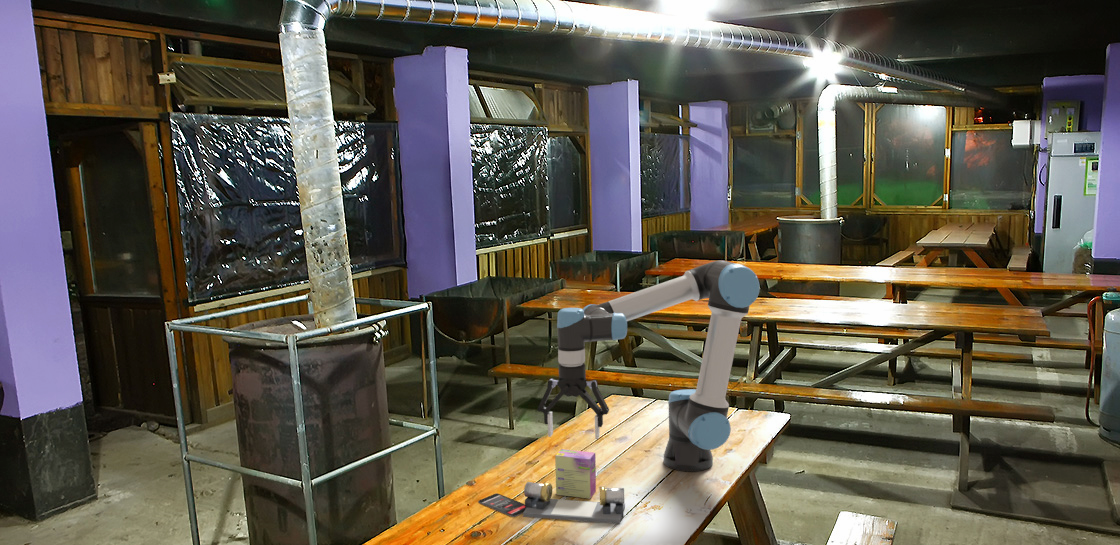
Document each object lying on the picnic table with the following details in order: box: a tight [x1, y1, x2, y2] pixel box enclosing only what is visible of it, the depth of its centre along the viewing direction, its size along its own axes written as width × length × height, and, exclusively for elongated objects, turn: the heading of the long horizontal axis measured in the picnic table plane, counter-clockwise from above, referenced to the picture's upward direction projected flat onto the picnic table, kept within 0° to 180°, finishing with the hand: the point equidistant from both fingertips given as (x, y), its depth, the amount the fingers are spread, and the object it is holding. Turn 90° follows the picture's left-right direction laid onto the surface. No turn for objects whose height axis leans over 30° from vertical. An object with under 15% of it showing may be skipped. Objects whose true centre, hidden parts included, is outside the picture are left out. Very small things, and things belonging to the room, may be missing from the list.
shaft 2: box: [599, 486, 625, 519], centre depth 204 cm, size 6×5×7 cm
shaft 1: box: [523, 481, 553, 510], centre depth 208 cm, size 6×5×7 cm
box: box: [554, 449, 597, 500], centre depth 217 cm, size 10×6×12 cm, turn 71°
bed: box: [522, 498, 626, 525], centre depth 206 cm, size 26×10×1 cm, turn 77°
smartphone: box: [478, 493, 525, 518], centre depth 211 cm, size 7×1×15 cm
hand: (573, 436), depth 216 cm, fingers open, 13 cm apart
